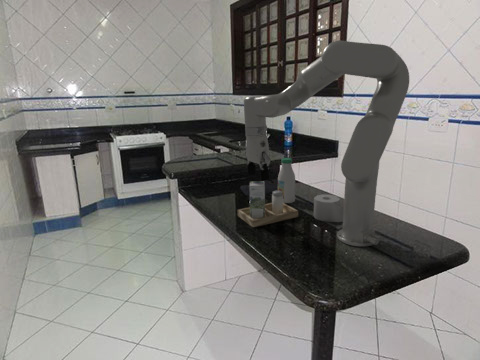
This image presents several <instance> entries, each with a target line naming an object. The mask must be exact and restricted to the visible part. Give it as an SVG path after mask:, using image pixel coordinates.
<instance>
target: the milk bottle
mask: <svg viewBox="0 0 480 360" xmlns="http://www.w3.org/2000/svg"><path fill="white" fill-rule="evenodd" d="M280 160H281V168H280V170H279V173H278V175H277V176H278V177H277V179H278V191H282V192H283V203H284V204H292V203H294V202H295V201H296V174H295V172H294V169H293V166H292V164H293V158H290V157H283V158H281V159H280Z"/></svg>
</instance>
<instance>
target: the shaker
mask: <svg viewBox="0 0 480 360" xmlns="http://www.w3.org/2000/svg"><path fill="white" fill-rule="evenodd" d="M271 203H272V212H273V213H274V214H281V213H283V192H282V191H273V194H271Z"/></svg>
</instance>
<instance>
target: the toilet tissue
mask: <svg viewBox="0 0 480 360" xmlns="http://www.w3.org/2000/svg"><path fill="white" fill-rule="evenodd" d="M340 202H341V199H340V197H338V195H337V196H336V195H333V194H318V195H316V196H314V198H313V217H314V218H315V220H318V221H321V222H330V223H333V222H334V223H343V210H344V206H342V205H341V206H340V204H341V203H340Z"/></svg>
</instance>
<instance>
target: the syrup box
mask: <svg viewBox="0 0 480 360" xmlns="http://www.w3.org/2000/svg"><path fill="white" fill-rule="evenodd" d="M259 181H260V182H259ZM259 181H249V185H250V197H249V207H250V217H251V218H253V219H259V218H263V217H265V204H266V201H265V200H266V198H265V197H266V195H265V184H264V181H265V180H264V181H261V180H259Z"/></svg>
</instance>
